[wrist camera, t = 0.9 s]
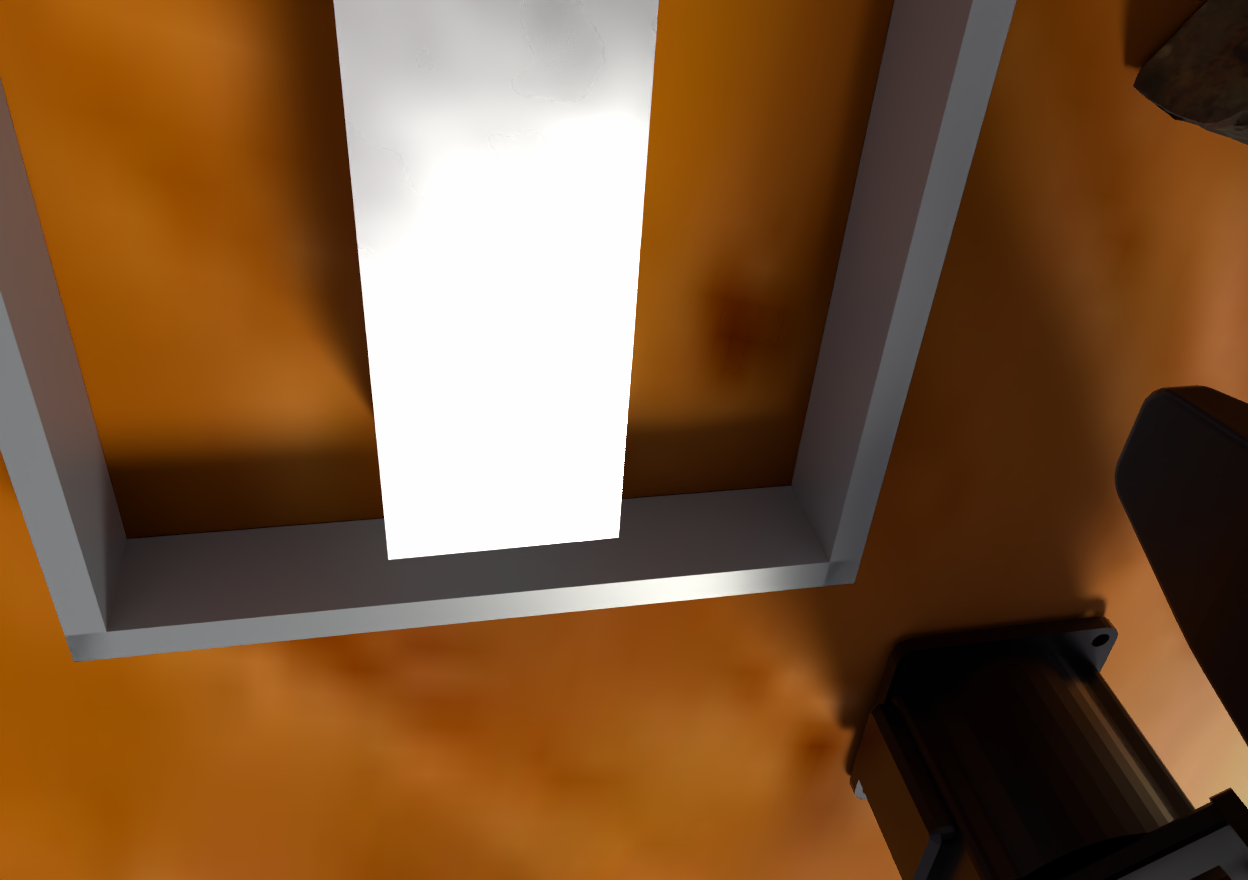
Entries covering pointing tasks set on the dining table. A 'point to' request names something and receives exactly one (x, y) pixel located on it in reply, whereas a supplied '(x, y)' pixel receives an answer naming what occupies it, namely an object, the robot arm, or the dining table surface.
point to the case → (540, 574)
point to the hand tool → (1204, 70)
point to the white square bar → (498, 258)
